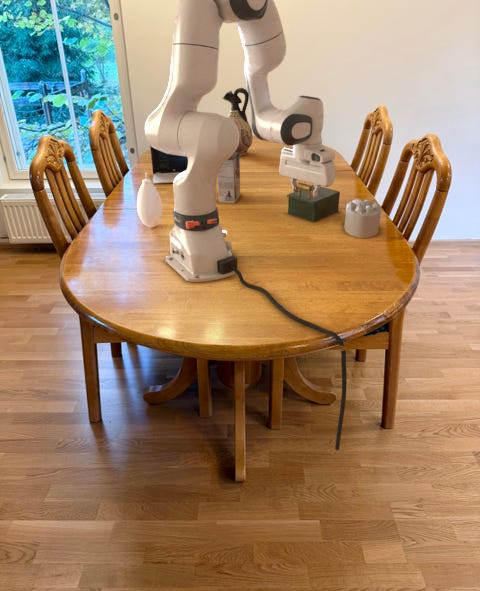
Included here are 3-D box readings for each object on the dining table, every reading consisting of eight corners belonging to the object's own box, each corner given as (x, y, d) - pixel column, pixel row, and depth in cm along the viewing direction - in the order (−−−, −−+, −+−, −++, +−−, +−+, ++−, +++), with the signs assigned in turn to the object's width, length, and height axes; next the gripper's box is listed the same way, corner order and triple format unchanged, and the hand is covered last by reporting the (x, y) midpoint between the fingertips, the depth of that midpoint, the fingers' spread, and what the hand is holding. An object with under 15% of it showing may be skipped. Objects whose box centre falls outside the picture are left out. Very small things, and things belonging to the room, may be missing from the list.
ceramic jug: (216, 157, 232) (213, 89, 217) (226, 149, 245) (224, 84, 230) (250, 159, 228) (250, 90, 212) (259, 151, 240) (259, 85, 225)
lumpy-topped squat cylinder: (376, 222, 158) (379, 196, 154) (379, 238, 147) (383, 211, 143) (343, 221, 160) (346, 195, 155) (344, 237, 149) (347, 209, 144)
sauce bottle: (140, 232, 154) (133, 176, 145) (138, 223, 160) (131, 169, 151) (165, 229, 155) (160, 173, 146) (162, 220, 162) (157, 166, 153)
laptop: (152, 184, 196) (149, 151, 189) (153, 175, 207) (149, 144, 200) (197, 182, 198) (195, 149, 191) (195, 173, 209) (193, 142, 202)
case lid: (313, 204, 156) (314, 189, 153) (286, 196, 162) (287, 182, 160) (339, 193, 164) (341, 179, 162) (313, 186, 171) (314, 172, 169)
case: (313, 222, 159) (315, 203, 156) (287, 213, 166) (288, 196, 163) (338, 211, 168) (339, 193, 164) (312, 203, 174) (313, 186, 171)
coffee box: (223, 194, 184) (222, 151, 176) (240, 195, 183) (240, 152, 175) (218, 202, 177) (216, 158, 169) (235, 203, 176) (234, 158, 167)
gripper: (275, 147, 157) (274, 189, 164) (327, 158, 145) (323, 203, 152) (288, 144, 161) (286, 185, 168) (339, 154, 148) (335, 198, 155)
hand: (304, 193), depth 160 cm, fingers open, 6 cm apart
